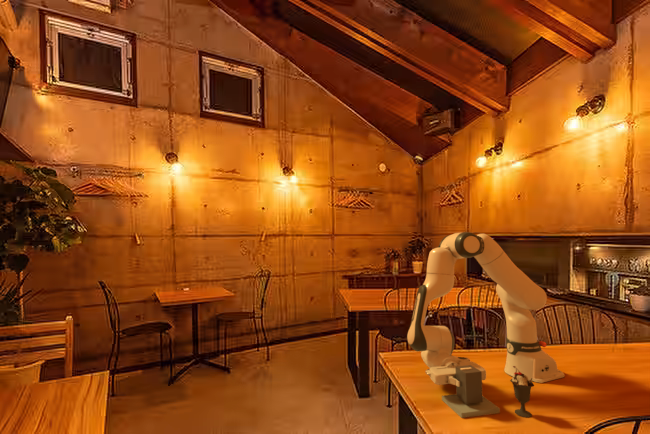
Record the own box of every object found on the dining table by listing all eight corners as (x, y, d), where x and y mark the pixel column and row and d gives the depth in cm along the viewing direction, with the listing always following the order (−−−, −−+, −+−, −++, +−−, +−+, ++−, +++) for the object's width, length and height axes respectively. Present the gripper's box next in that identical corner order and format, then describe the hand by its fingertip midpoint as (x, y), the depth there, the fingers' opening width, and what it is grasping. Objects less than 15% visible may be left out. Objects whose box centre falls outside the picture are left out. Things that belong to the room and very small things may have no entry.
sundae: (507, 409, 113) (505, 363, 114) (525, 407, 113) (523, 362, 114) (520, 419, 106) (517, 371, 107) (539, 418, 107) (537, 370, 108)
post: (477, 395, 122) (476, 372, 123) (499, 412, 110) (498, 387, 111) (442, 400, 120) (441, 376, 120) (461, 417, 108) (460, 391, 108)
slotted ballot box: (471, 393, 119) (470, 364, 119) (482, 401, 113) (481, 370, 113) (456, 395, 118) (455, 365, 118) (466, 403, 112) (465, 372, 112)
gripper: (422, 361, 126) (442, 376, 113) (471, 357, 130) (495, 371, 117) (423, 378, 126) (442, 396, 113) (472, 373, 130) (496, 389, 116)
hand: (470, 383), depth 115 cm, fingers closed on slotted ballot box, 6 cm apart
